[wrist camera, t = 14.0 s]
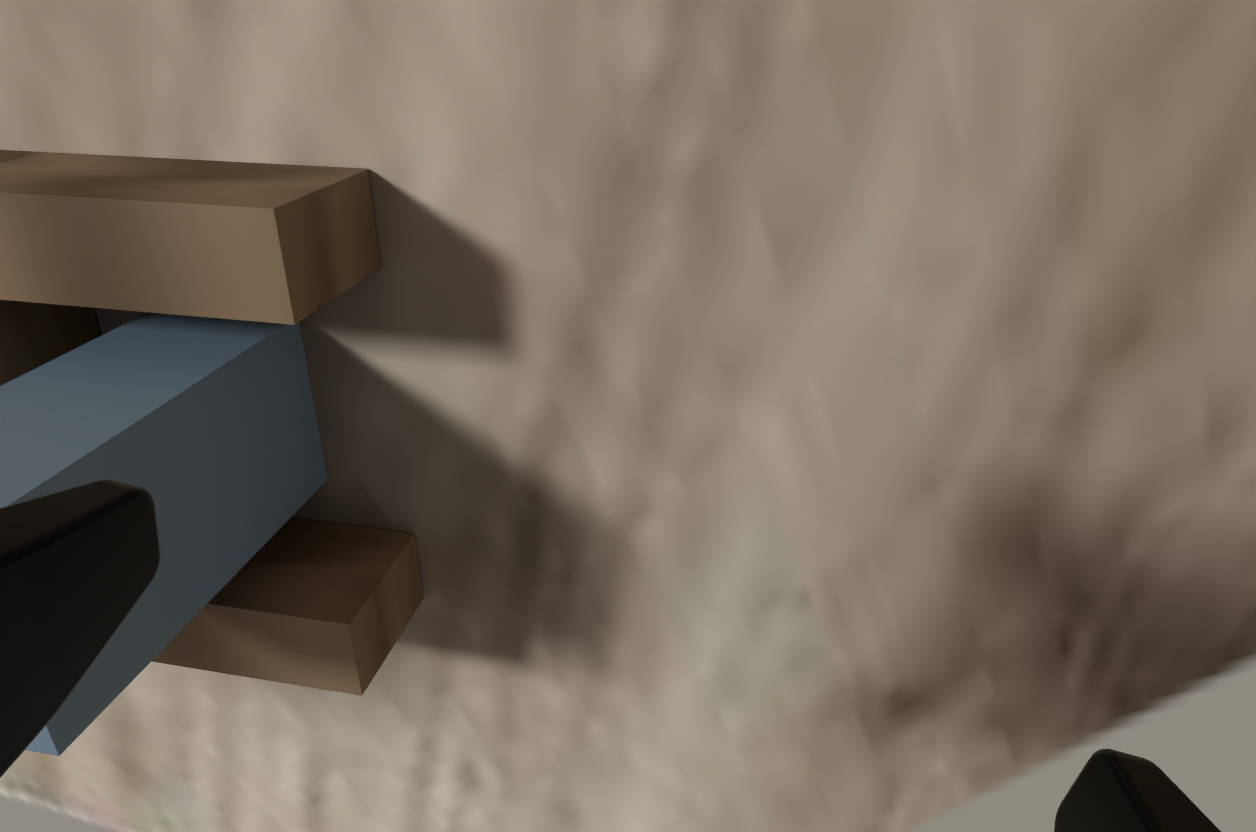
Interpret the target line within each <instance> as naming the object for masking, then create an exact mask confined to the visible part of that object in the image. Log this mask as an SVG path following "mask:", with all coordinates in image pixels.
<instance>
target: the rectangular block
mask: <svg viewBox="0 0 1256 832" xmlns="http://www.w3.org/2000/svg"><path fill="white" fill-rule="evenodd" d="M100 480H115V481H119V482H123V483H126V484H130V485H134V486H138V487H141V488H144V489H145V490H147V491H148V492H149V493H150V495H151V496H152V498H153V501H154V506H155V515H156V523H157V531H158V540H159V548H160V561H159V566H158V569H157V572H156V574H155V576H154V578H153V580H152V582H151V583H150V585H149V586H148V587H147V589H146V590H145V592H144V593H143V594H142V596H141V597H140V599H139V600H138V601H137V603H136V604H135V605H134V607H133V608H132V610H131V611H130V612H129V614H128V615H127V617H126V618H125V619H124V621H123V622H122V624H121V625H120V626H119V628H118V629H117V631H116V632H115V633H114V635H113V636H112V637H111V639H110V640H109V642H108V643H107V644H106V646H105V647H104V649H103V650H102V651H101V653H100V654H99V656H98V657H97V658H96V660H95V661H94V662H93V664H92V665H91V667H90V668H89V669H88V671H87V672H86V674H85V675H84V676H83V678H82V679H81V681H80V682H79V683H78V685H77V686H76V688H75V689H74V690H73V692H72V693H71V694H70V695H69V697H68V698H67V699H66V701H65V702H64V703H63V705H62V706H61V707H60V709H59V710H58V711H57V712H56V714H55V715H54V716H53V717H52V718H51V720H50V721H49V722H48V723H47V724H46V726H45V727H44V728H43V729H42V730H41V732H40V733H39V734H38V735H37V736H36V738H35V739H34V740H33V741H32V742H31V743H30V744H29V746H28V747H27V748H26V749H25V750H29V751H35V752H40V753H45V754H51V755H56V756H59V755H60V754H61V753H62V752H63V751H64V750H65V749H66V748H67V747H68V746H69V745H70V744H71V743H72V742H73V741H74V740H75V739H76V738H77V737H78V736H79V735H80V734H81V733H82V732H83V731H84V730H85V729H86V728H87V727H88V726H89V725H90V724H91V723H92V722H93V721H94V719H95V718H96V717H97V716H98V715H99V714H100V713H101V712H102V711H103V710H104V709H105V708H106V707H107V706H108V705H109V704H110V703H111V702H112V701H113V700H114V699H115V698H116V697H117V696H118V695H119V694H120V693H121V692H122V691H123V690H124V689H125V688H126V687H127V686H128V685H129V684H130V682H131V681H132V680H133V679H134V678H135V677H136V676H137V675H138V674H139V673H140V672H141V671H142V670H143V669H144V668H145V667H146V666H147V665H148V664H149V663H150V662H151V661H152V660H153V659H154V658H155V657H156V656H157V655H158V654H159V653H160V652H161V651H162V650H163V649H164V648H165V646H166V645H167V644H168V643H169V642H170V641H171V640H172V639H173V638H174V637H175V636H176V635H177V634H178V633H179V632H180V631H181V630H182V629H183V628H184V627H185V626H186V625H187V624H188V623H189V622H190V621H191V620H192V619H193V618H194V617H195V616H196V615H197V614H198V613H199V612H200V611H201V609H202V608H203V607H204V606H205V605H206V604H207V603H208V602H209V601H210V600H211V599H212V598H213V597H214V596H215V595H216V594H217V593H218V592H219V591H220V590H221V589H222V588H223V587H224V586H225V585H226V584H227V583H228V582H229V581H230V580H231V579H232V578H233V577H234V576H235V575H236V573H237V572H238V571H239V570H240V569H241V568H242V567H243V566H244V565H245V564H246V563H247V562H248V561H249V560H250V559H251V558H252V557H253V556H254V555H255V554H256V553H257V552H258V551H259V550H260V549H261V548H262V547H263V546H264V545H265V544H266V543H267V542H268V541H269V540H270V539H271V537H272V536H273V535H274V534H275V533H276V532H277V531H278V530H279V529H280V528H281V527H282V526H283V525H284V524H285V523H286V522H287V521H288V520H289V519H290V518H291V517H292V516H293V515H294V514H295V513H296V512H297V511H298V510H299V509H300V508H301V507H302V506H303V505H304V504H305V503H306V502H307V500H308V499H309V498H310V497H311V496H312V495H313V494H314V493H315V492H316V491H317V490H318V489H319V488H320V487H321V486H322V485H323V484H324V483H325V482H326V481H327V480H328V478H327V472H326V467H325V461H324V456H323V450H322V445H321V439H320V434H319V428H318V423H317V417H316V412H315V406H314V401H313V395H312V390H311V384H310V379H309V373H308V368H307V362H306V357H305V351H304V346H303V340H302V335H301V329H300V324H299V322H298V323H296V324H295V325H291V324H280V323H268V322H256V321H244V320H233V319H221V318H209V317H198V316H186V315H174V314H162V313H151V312H148V313H146V314H144V315H142V316H140V317H138V318H136V319H134V320H132V321H130V322H128V323H126V324H124V325H122V326H120V327H118V328H116V329H114V330H112V331H110V332H108V333H106V334H104V335H102V336H100V337H98V338H96V339H94V340H92V341H90V342H88V343H86V344H84V345H82V346H80V347H78V348H76V349H74V350H72V351H70V352H68V353H66V354H64V355H62V356H60V357H58V358H56V359H54V360H52V361H50V362H48V363H46V364H44V365H42V366H40V367H38V368H36V369H34V370H32V371H30V372H28V373H26V374H24V375H22V376H20V377H18V378H16V379H14V380H12V381H10V382H8V383H6V384H4V385H2V386H0V508H3V507H6V506H10V505H13V504H17V503H21V502H24V501H28V500H31V499H35V498H38V497H42V496H46V495H49V494H53V493H56V492H60V491H63V490H67V489H71V488H74V487H78V486H81V485H85V484H88V483H92V482H96V481H100Z"/></svg>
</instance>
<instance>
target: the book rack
mask: <svg viewBox="0 0 1256 832" xmlns="http://www.w3.org/2000/svg"><path fill="white" fill-rule="evenodd" d="M380 268H381V266H380V258H379V250H378V242H377V234H376V227H375V219H374V211H373V203H372V195H371V188H370V180H369V172H368V169H361V168H341V167H322V166H302V165H283V164H263V163H243V162H224V161H204V160H185V159H165V158H146V157H126V156H107V155H87V154H68V153H48V152H29V151H9V150H0V386H2V385H4V384H6V383H8V382H10V381H12V380H14V379H16V378H18V377H20V376H22V375H24V374H26V373H28V372H30V371H32V370H34V369H36V368H38V367H40V366H42V365H44V364H46V363H48V362H50V361H52V360H54V359H56V358H58V357H60V356H62V355H64V354H66V353H68V352H70V351H72V350H74V349H76V348H78V347H80V346H82V345H84V344H86V343H88V342H90V341H92V340H94V339H96V338H98V337H100V336H101V333H100V329H99V326H98V323H97V319H96V316H95V312H94V309H93V308H104V309H116V310H127V311H139V312H151V313H162V314H174V315H186V316H198V317H209V318H221V319H233V320H244V321H256V322H268V323H280V324H291V325H295V324H296V323H298V322H300V321H301V320H303V319H304V318H306V317H307V316H309V315H310V314H312V313H313V312H315V311H316V310H318V309H319V308H321V307H322V306H324V305H325V304H327V303H328V302H330V301H331V300H333V299H334V298H336V297H337V296H339V295H340V294H342V293H343V292H345V291H346V290H348V289H349V288H351V287H352V286H354V285H355V284H357V283H358V282H360V281H361V280H363V279H364V278H366V277H367V276H369V275H371V274H372V273H374V272H375V271H377V270H378V269H380ZM422 600H423V594H422V586H421V578H420V570H419V563H418V555H417V547H416V539H415V534H413V533H405V532H397V531H389V530H381V529H373V528H366V527H358V526H350V525H342V524H334V523H326V522H318V521H310V520H303V519H295V518H290V519H289V520H288V521H287V522H286V523H285V524H284V525H283V526H282V527H281V528H280V529H279V530H278V531H277V532H276V533H275V534H274V535H273V536H272V537H271V539H270V540H269V541H268V542H267V543H266V544H265V545H264V546H263V547H262V548H261V549H260V550H259V551H258V552H257V553H256V554H255V555H254V556H253V557H252V558H251V559H250V560H249V561H248V562H247V563H246V564H245V565H244V566H243V567H242V568H241V569H240V570H239V571H238V572H237V573H236V575H235V576H234V577H233V578H232V579H231V580H230V581H229V582H228V583H227V584H226V585H225V586H224V587H223V588H222V589H221V590H220V591H219V592H218V593H217V594H216V595H215V596H214V597H213V598H212V599H211V600H210V601H209V602H208V603H207V604H206V605H205V606H204V607H203V608H202V609H201V611H200V612H199V613H198V614H197V615H196V616H195V617H194V618H193V619H192V620H191V621H190V622H189V623H188V624H187V625H186V626H185V627H184V628H183V629H182V630H181V631H180V632H179V633H178V634H177V635H176V636H175V637H174V638H173V639H172V640H171V641H170V642H169V643H168V644H167V645H166V646H165V648H164V649H163V650H162V651H161V652H160V653H159V654H158V655H157V656H156V657H155V658H154V659H153V660H152V661H153V662H159V663H165V664H171V665H177V666H183V667H190V668H196V669H202V670H208V671H214V672H220V673H227V674H233V675H239V676H245V677H251V678H257V679H263V680H270V681H276V682H282V683H288V684H294V685H300V686H307V687H313V688H319V689H325V690H331V691H337V692H343V693H350V694H356V695H363V693H364V691H365V690H366V688H367V687H368V685H369V684H370V682H371V680H372V679H373V677H374V676H375V674H376V673H377V671H378V669H379V668H380V666H381V665H382V663H383V661H384V660H385V658H386V657H387V655H388V654H389V652H390V650H391V649H392V647H393V646H394V644H395V643H396V641H397V639H398V638H399V636H400V635H401V633H402V631H403V630H404V628H405V627H406V625H407V624H408V622H409V620H410V619H411V617H412V616H413V614H414V613H415V611H416V609H417V608H418V606H419V605H420V603H421V601H422Z"/></svg>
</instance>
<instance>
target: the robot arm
mask: <svg viewBox="0 0 1256 832" xmlns="http://www.w3.org/2000/svg"><path fill="white" fill-rule="evenodd" d="M159 561H160V548H159V540H158V531H157V523H156V515H155V506H154V501H153V498H152V496H151V495H150V493H149V492H148V491H147V490H145V489H144V488H141V487H138V486H134V485H130V484H126V483H123V482H119V481H115V480H100V481H96V482H92V483H88V484H85V485H81V486H78V487H74V488H71V489H67V490H63V491H60V492H56V493H53V494H49V495H46V496H42V497H38V498H35V499H31V500H28V501H24V502H21V503H17V504H13V505H10V506H6V507H3V508H0V778H1V776H2V775H3V774H4V773H5V772H6V771H7V770H8V768H9V767H10V766H11V765H12V764H13V763H14V762H15V760H16V759H17V758H18V757H19V756H20V755H21V754H22V752H23V751H24V750H25V749H26V748H27V747H28V746H29V744H30V743H31V742H32V741H33V740H34V739H35V738H36V736H37V735H38V734H39V733H40V732H41V730H42V729H43V728H44V727H45V726H46V724H47V723H48V722H49V721H50V720H51V718H52V717H53V716H54V715H55V714H56V712H57V711H58V710H59V709H60V707H61V706H62V705H63V703H64V702H65V701H66V699H67V698H68V697H69V695H70V694H71V693H72V692H73V690H74V689H75V688H76V686H77V685H78V683H79V682H80V681H81V679H82V678H83V676H84V675H85V674H86V672H87V671H88V669H89V668H90V667H91V665H92V664H93V662H94V661H95V660H96V658H97V657H98V656H99V654H100V653H101V651H102V650H103V649H104V647H105V646H106V644H107V643H108V642H109V640H110V639H111V637H112V636H113V635H114V633H115V632H116V631H117V629H118V628H119V626H120V625H121V624H122V622H123V621H124V619H125V618H126V617H127V615H128V614H129V612H130V611H131V610H132V608H133V607H134V605H135V604H136V603H137V601H138V600H139V599H140V597H141V596H142V594H143V593H144V592H145V590H146V589H147V587H148V586H149V585H150V583H151V582H152V580H153V578H154V576H155V574H156V572H157V569H158V566H159ZM1054 832H1221V831H1220V830H1219V829H1218V828H1217V827H1216V826H1215V825H1214V824H1213V823H1212V822H1211V821H1210V820H1209V819H1208V818H1207V817H1206V816H1205V815H1204V814H1203V813H1202V812H1201V811H1200V810H1199V808H1198V807H1196V805H1195V804H1194V803H1193V802H1191V800H1190V799H1189V798H1188V797H1187V796H1186V795H1185V794H1184V793H1183V792H1182V791H1181V790H1180V789H1179V788H1178V787H1177V786H1176V785H1175V784H1174V783H1173V782H1172V781H1171V780H1170V779H1169V778H1168V777H1167V776H1166V774H1165V773H1164V772H1163V771H1162V770H1161V769H1160V768H1159V767H1157V766H1156V765H1155V764H1154V763H1152V762H1151V761H1149V760H1147V759H1144V758H1140V757H1137V756H1133V755H1130V754H1126V753H1122V752H1119V751H1115V750H1111V749H1101V750H1099V751H1097V752H1095V753H1094V754H1093V755H1092V756H1091V758H1090V759H1089V760H1088V762H1087V763H1086V765H1085V767H1084V768H1083V770H1082V771H1081V773H1080V774H1079V776H1078V777H1077V779H1076V780H1075V782H1074V784H1073V785H1072V787H1071V789H1070V790H1069V791H1068V793H1067V794H1066V796H1065V798H1064V799H1063V801H1062V802H1061V804H1060V806H1059V808H1058V811H1057V814H1056V819H1055V828H1054Z"/></svg>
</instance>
